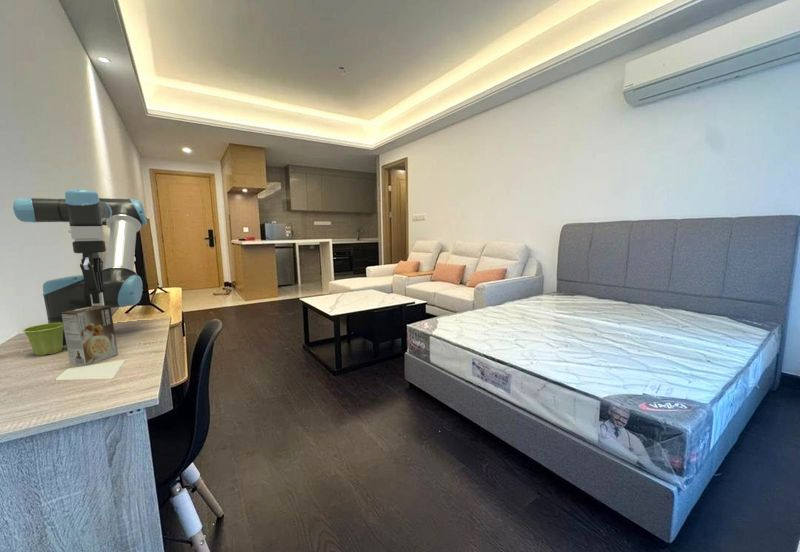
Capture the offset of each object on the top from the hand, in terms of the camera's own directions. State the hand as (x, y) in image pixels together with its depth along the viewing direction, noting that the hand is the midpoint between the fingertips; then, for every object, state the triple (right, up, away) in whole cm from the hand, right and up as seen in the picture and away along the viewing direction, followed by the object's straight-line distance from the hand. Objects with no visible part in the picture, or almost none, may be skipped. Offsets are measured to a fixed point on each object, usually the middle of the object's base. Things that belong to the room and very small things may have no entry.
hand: (99, 312), depth 107 cm
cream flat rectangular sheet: (+14, -15, -19) cm, 28 cm away
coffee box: (+5, -14, -7) cm, 16 cm away
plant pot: (-16, -13, -1) cm, 20 cm away
